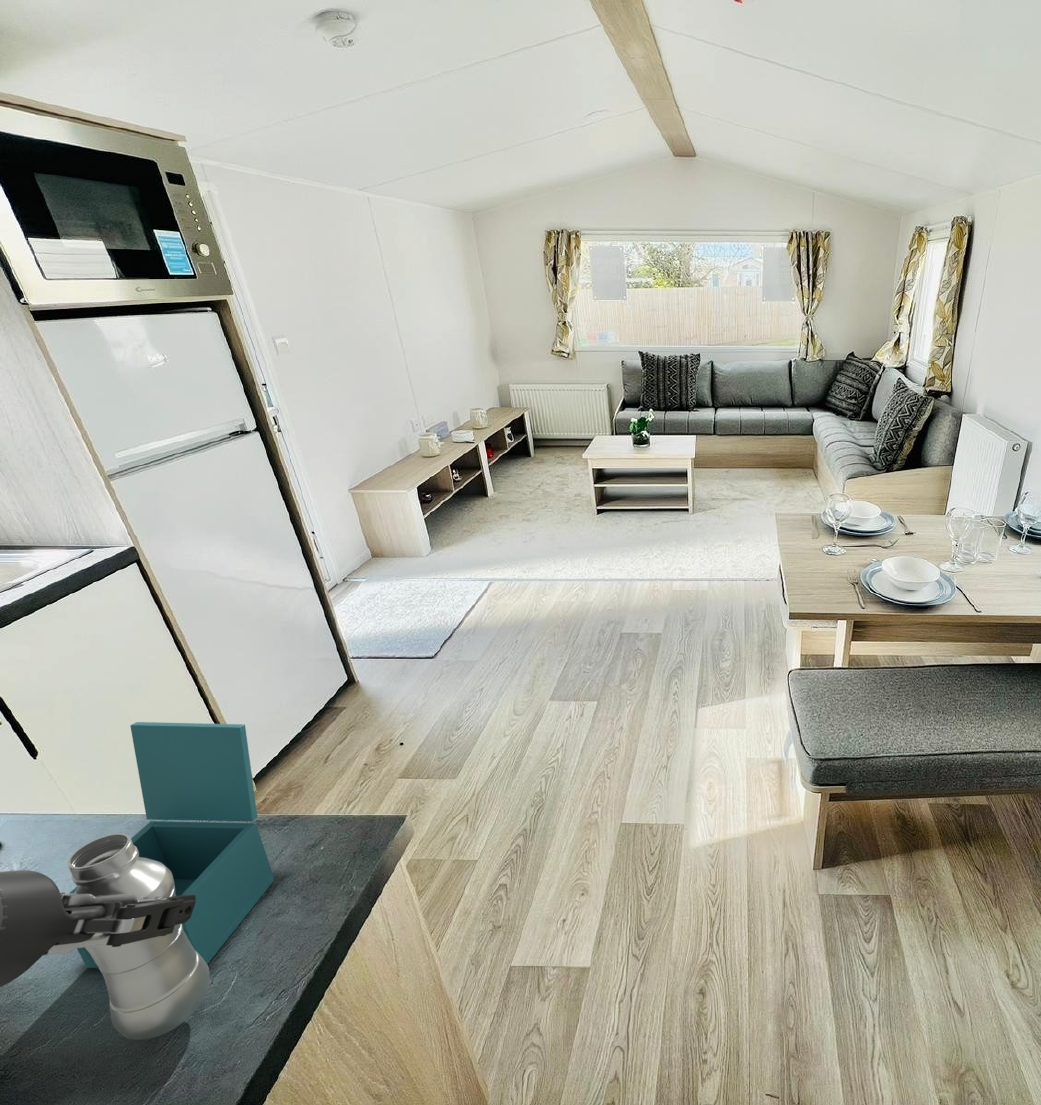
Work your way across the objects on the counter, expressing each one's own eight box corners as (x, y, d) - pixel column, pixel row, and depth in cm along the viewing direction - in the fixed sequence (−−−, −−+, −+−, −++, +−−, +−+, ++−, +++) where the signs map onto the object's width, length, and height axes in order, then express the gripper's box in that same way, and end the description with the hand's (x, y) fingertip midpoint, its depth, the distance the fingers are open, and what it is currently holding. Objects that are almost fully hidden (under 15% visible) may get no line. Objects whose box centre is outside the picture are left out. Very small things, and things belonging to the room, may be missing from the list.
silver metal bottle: (119, 1011, 57) (40, 849, 50) (212, 963, 62) (151, 808, 55) (123, 1069, 53) (36, 901, 46) (222, 1012, 58) (157, 851, 51)
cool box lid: (239, 727, 66) (245, 724, 67) (129, 725, 66) (136, 721, 67) (252, 821, 69) (257, 817, 69) (146, 819, 68) (152, 815, 69)
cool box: (203, 969, 63) (177, 907, 59) (86, 968, 62) (54, 905, 59) (274, 880, 72) (256, 822, 69) (174, 878, 72) (150, 820, 69)
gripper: (72, 876, 41) (244, 862, 57) (-149, 872, 41) (84, 859, 56) (18, 1012, 38) (215, 958, 54) (-222, 1009, 38) (46, 955, 53)
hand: (148, 907), depth 55 cm, fingers closed on silver metal bottle, 6 cm apart
